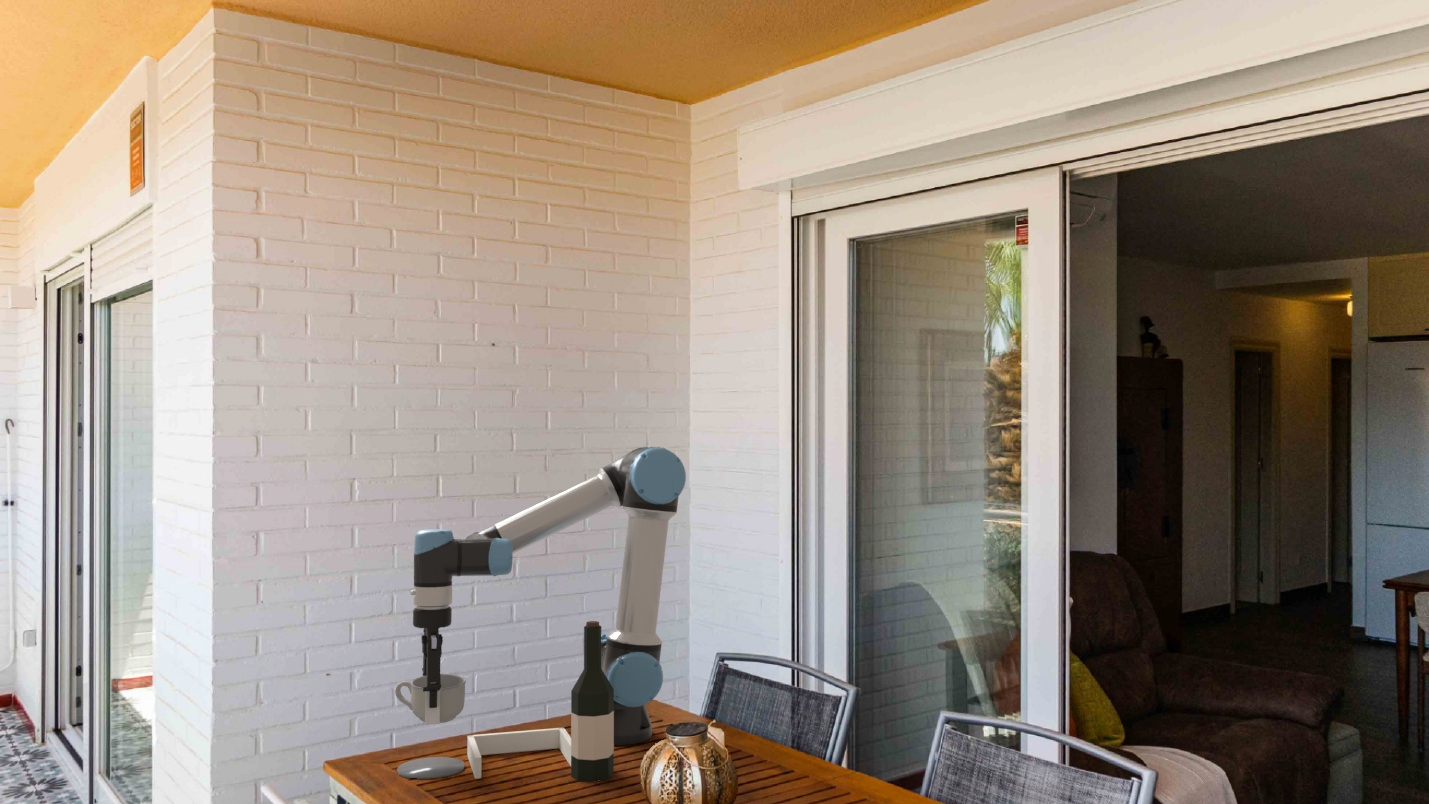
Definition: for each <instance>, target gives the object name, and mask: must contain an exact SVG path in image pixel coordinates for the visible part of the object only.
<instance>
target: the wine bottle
mask: <svg viewBox="0 0 1429 804" xmlns="http://www.w3.org/2000/svg"><path fill="white" fill-rule="evenodd" d="M601 633H602V625H600V621H597V620H596V621H595V620H589V621H586V625H585V626H583V670H582V671H581V673H580V675H579V677H578V679H577V680H576V682H575V684H574V686H573V688H572V689H571V693H570V694H571V695H570V697H571V698H570V699H571V703H570V705H571V706H570V707H571V709H570V710H571V711H570V712H571V713H570V716H571V717H570V723H571V726H570V737H571V766H570V767H571V768H570V777H571V778H573V779H574V780H576V781H577V782H586V781H587V783H589V782H590V783H595V782H594V781H597V782H599V781H598V780H602V781H606V779H608V780H610V779H611V778H612V777H613V776H614V775H613V774H615V772H614V771H615V770H614V769H615V768H614V766H615V765H614V764H615V762H614V759H615V756H614V755H615V750H614V749H615V745H614V689H613V687H612V685H611V684H610V682H609V680H608V679H607V677H606V675H605V674H604V672H603V670H602V669H601ZM612 775H613V776H612Z"/></svg>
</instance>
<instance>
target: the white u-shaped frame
mask: <svg viewBox="0 0 1429 804" xmlns="http://www.w3.org/2000/svg"><path fill="white" fill-rule="evenodd" d="M466 739H467V741H466V742H467V743H466V744H467V745H466V749H467V750H466V753H467V759H468V762H469V764H470V767H471V772H472V774H473V777H474V779H475V780H476V779H477V780H478V779H482V756H487V755H488V756H489V755H498V754H508V753H510V754H511V753H520V752H531V751H543V750H552V749H553V750H554V749H555V750H556V749H559V750H560V751H561V753H562V755H563V756H564V758H565V760H566V761H567V763H568V765H569V766H570V767H571V735H570V734H569V732H568V731H567V730H566V729H565V727H555V728H553V727H552V728H544V729H543V728H542V729H529V730H519V731H517V730H516V731H506V732H493V733H481V734H467V737H466Z"/></svg>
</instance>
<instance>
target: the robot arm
mask: <svg viewBox="0 0 1429 804" xmlns="http://www.w3.org/2000/svg"><path fill="white" fill-rule="evenodd" d="M686 479H687V474H686V469H685V466H684V463H683V462H682V459H680V458H679V457H678V455H677V454H676V453H674V452H673V451H671V450H669V449H666V448H665V447H660V446H649V447H647V446H644V447H638V448H635V449H632V450H631V451H629V452H627V453H626V454H624V455H622V456H621V457H619V458H618V459H617V460H615V461H613V462H611V463H609V464H607V465H606V466H602V467H601V468H599V470H598V473H597V475H595V476H593V477H591V478H589V479H586V480H585V481H583V482H580V483H578V484H576V485H575V486H572V487H569V488H568V489H566V490H564V491H562V492H560V493H557V494H555V495H554V496H551V497H549V498H547V499H545V500H543V501H541V502H539V503H537V504H535V505H533V506H531V507H528V508H526V509H524V510H521V511H520V512H518V513H515V514H514V515H512V516H510V517H508V518H506V519H503V520H501V521H499V522H497V523H495V524H494V525H491V526H490V527H487V528H485V529H483V530H480V531H476V532H473V533H471V534H469V535H468V536H466V538H465V539H463V538H462V539H461V538H454V534H453V531H452V530H450V529H447V528H445V529H440V528H431V529H430V528H429V529H420V530H418V531H417V533H416V534H415V535H414V550H413V589H414V590H413V589H412V590H411V591H410V595H411V596H413V605H414V606H415V607H414V609H413V610H412V625H413V627H414V628H417V629H422V630H423V634H421V645H422V647H421V649H422V654H423V656H422V668H421V670H422V676H427V687H423V692H425V691H426V704H425V722H424V725H425V726H427V725H440V724H441V723H440V688H441V674H442V673H441V658H442V654H443V653H442V651H443V649H442V648H443V642H444V641H443V635H442V633H440V631H439V630H440V628H441V629H442V628H448V627H450V626H451V625H452V612H453V611H452V607H451V605H452V604H453V577H461V576H462V577H466V576H467V577H470V576H471V577H473V576H474V577H476V576H479V577H481V576H483V577H484V576H487V577H488V576H492V577H497V576H506V575H509V574H510V573H511V571H512V569H513V554H516V553H518V552H520V551H522V550H524V549H526V548H528V547H530V546H532V545H534V544H535V543H538V542H540V541H542V540H545V539H546V538H548V537H551V536H553V535H554V534H557V533H559V532H561V531H563V530H566V529H567V528H569V527H571V526H574V525H575V524H578V523H580V522H582V521H583V520H586V519H588V518H589V517H593V516H594V515H596V514H599V513H600V512H602V511H604V510H607V509H608V508H610V507H615V508H620V507H622V508H623V510H624V511H625V513H627V515H628V520H627V529H626V538H625V546H624V551H623V552H624V553H623V562H622V563H623V564H622V571H621V581H620V589H619V596H618V605H617V613H616V622H615V623H616V624H615V628H614V630H612V631H611V632H603V633H602V632H601V669H602V670H603V672H604V674H605V675H606V677H607V679H608V680H609V682H610V684H611V685H612V687H613V689H614V746H626V745H634V744H640V743H643V742H646V741H648V740H650V739H651V738H652V737H653V733H652V732H653V727H652V721H651V719H650V716H649V713H648V709H647V707H646V706H647V705H646V704H649V703H650V702H651V701H652V700H654V699H655V698H656V697H657V696H658V694H659V692H660V691H661V689H662V686H663V681H664V672H663V668H662V665H661V663H660V662H661V653H662V643H663V641H662V639H661V638H660V637H659V636H658V634H657V624H658V615H659V607H660V598H661V590H662V581H663V571H664V566H665V565H664V563H665V556H666V545H667V537H668V528H669V522H670V520H671V519H672V517H673V518H674V516H675V515H676V514H677V511H678V504H679V497H680V495H681V494H682V492H683V490H684V488H685V485H686ZM434 682H436V683H434Z"/></svg>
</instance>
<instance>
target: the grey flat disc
mask: <svg viewBox="0 0 1429 804" xmlns="http://www.w3.org/2000/svg"><path fill="white" fill-rule="evenodd" d="M464 769H465V762H464V761H463V760H461V759H458V758H454V757H447V756H429V757H428V756H427V757H421V758H415V759H411V760H409V761H406V762H403V763H401V764H400V765H398V767H397V770H396V771H397V772H398V773H397V775H399V776H400V775H401V776H400V777H402V776H403V777H402V778H405V779H410V778H417V779H416V780H429V779H428V778H437V779H442V777H443V778H447V776H448V777H451V776H454V775H457V774H459V773H461V772H462V771H463V770H464Z"/></svg>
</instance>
